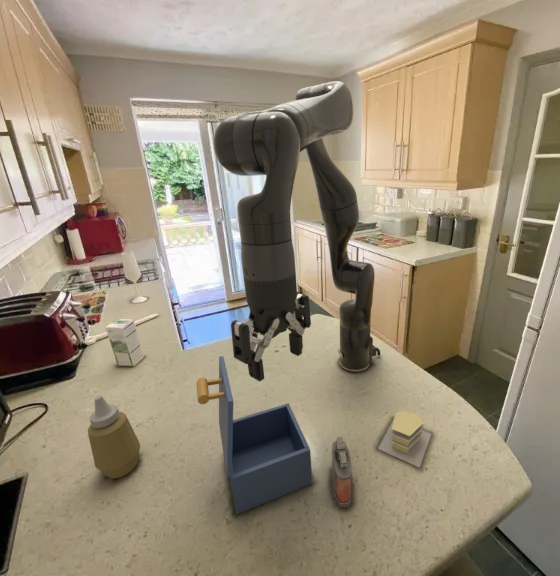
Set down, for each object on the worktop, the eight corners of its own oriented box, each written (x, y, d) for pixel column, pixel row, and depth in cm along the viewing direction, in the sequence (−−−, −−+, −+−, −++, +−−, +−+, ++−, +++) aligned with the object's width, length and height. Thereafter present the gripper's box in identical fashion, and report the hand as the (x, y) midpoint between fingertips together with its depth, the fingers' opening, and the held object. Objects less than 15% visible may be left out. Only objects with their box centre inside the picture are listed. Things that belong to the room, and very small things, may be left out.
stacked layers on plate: (419, 467, 63) (421, 447, 61) (378, 449, 68) (378, 429, 66) (431, 434, 71) (433, 415, 69) (393, 419, 75) (394, 401, 73)
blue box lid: (223, 355, 59) (195, 359, 57) (233, 400, 48) (198, 406, 46) (222, 421, 64) (196, 426, 62) (231, 477, 52) (200, 485, 50)
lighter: (330, 468, 64) (329, 430, 60) (346, 466, 64) (346, 429, 60) (335, 508, 56) (334, 468, 52) (354, 506, 56) (354, 466, 53)
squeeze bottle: (152, 455, 68) (132, 388, 61) (119, 489, 61) (92, 417, 54) (125, 446, 70) (102, 380, 64) (90, 477, 63) (61, 407, 57)
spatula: (154, 314, 136) (153, 308, 135) (159, 316, 134) (158, 310, 133) (82, 343, 114) (80, 336, 113) (87, 346, 112) (85, 339, 111)
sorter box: (291, 433, 72) (288, 402, 69) (312, 483, 61) (310, 449, 57) (226, 455, 67) (221, 423, 64) (236, 514, 55) (229, 479, 52)
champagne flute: (143, 296, 157) (131, 250, 149) (149, 299, 153) (138, 251, 145) (129, 300, 152) (116, 253, 143) (135, 303, 148) (122, 255, 140)
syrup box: (144, 357, 105) (134, 318, 99) (133, 367, 99) (121, 327, 94) (129, 356, 105) (117, 318, 100) (116, 366, 100) (104, 326, 94)
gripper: (246, 291, 37) (260, 399, 43) (320, 262, 48) (323, 353, 53) (211, 279, 42) (227, 378, 48) (285, 256, 52) (291, 340, 58)
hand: (278, 365), depth 50 cm, fingers open, 8 cm apart
